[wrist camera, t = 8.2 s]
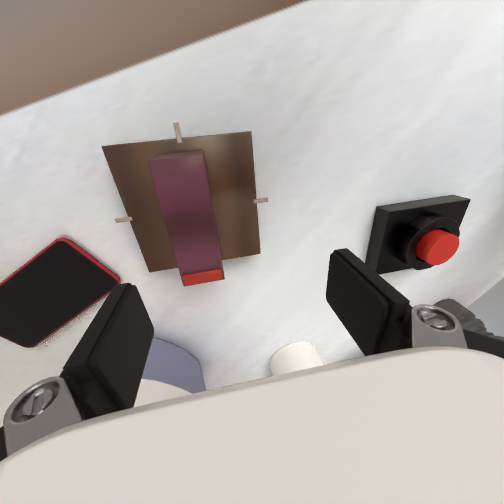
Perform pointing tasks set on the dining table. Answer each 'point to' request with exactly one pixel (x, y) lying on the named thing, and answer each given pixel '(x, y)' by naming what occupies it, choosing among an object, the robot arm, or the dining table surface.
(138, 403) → the bowl
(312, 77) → the dining table surface
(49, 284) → the smartphone
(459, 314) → the candle holder
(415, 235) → the button block
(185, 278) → the bar
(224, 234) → the panel
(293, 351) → the base with upright slab
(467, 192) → the dining table surface
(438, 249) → the button
